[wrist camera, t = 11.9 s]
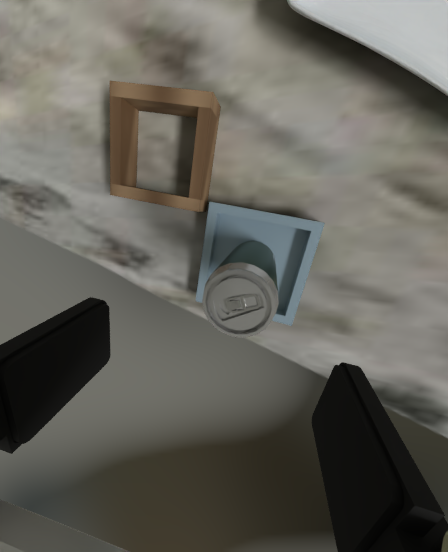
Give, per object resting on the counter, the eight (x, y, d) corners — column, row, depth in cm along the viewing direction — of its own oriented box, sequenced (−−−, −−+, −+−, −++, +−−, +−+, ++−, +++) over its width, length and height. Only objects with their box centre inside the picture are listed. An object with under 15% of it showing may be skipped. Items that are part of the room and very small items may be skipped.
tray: (200, 294, 29) (195, 300, 27) (214, 202, 25) (209, 201, 23) (290, 317, 27) (291, 325, 25) (320, 221, 23) (324, 223, 21)
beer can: (269, 234, 24) (268, 257, 13) (280, 278, 25) (287, 334, 14) (224, 246, 25) (188, 276, 14) (236, 287, 27) (212, 345, 16)
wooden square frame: (127, 196, 27) (110, 194, 24) (129, 96, 23) (109, 80, 21) (206, 211, 25) (198, 211, 23) (220, 106, 22) (213, 92, 19)
